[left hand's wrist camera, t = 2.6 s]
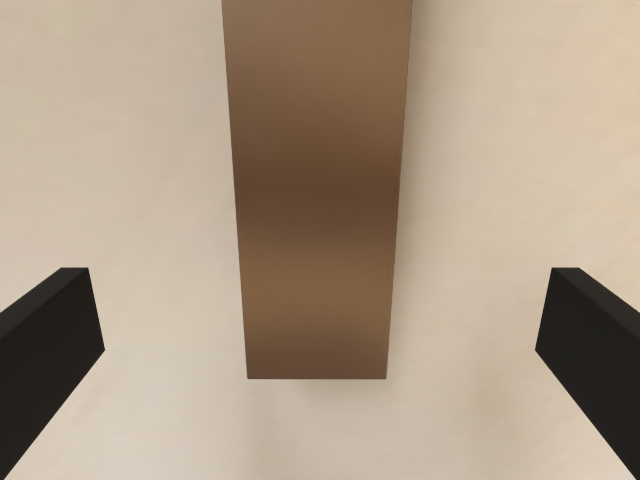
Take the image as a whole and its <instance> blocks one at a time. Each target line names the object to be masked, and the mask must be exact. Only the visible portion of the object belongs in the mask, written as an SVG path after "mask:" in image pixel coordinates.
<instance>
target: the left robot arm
mask: <svg viewBox="0 0 640 480" xmlns="http://www.w3.org/2000/svg"><path fill="white" fill-rule="evenodd" d="M104 351H105V347H104V343H103V338H102V333H101V328H100V323H99V318H98V313H97V308H96V303H95V299H94V294H93V289H92V284H91V279H90V274H89V269H88V268H60V269H59V270H57V271H56V272H55V273H53V274H52V275H51V276H49V277H48V278H46V279H45V280H44V281H42V282H41V283H40V284H38V285H37V286H36V287H34V288H33V289H32V290H30V291H29V292H28V293H26V294H25V295H24V296H22V297H21V298H20V299H18V300H17V301H16V302H14V303H13V304H11V305H10V306H9V307H7V308H6V309H5V310H3V311H2V312H1V313H0V480H4V479H5V477H6V476H7V475H8V474H9V472H10V471H11V470H12V468H13V467H14V466H15V465H16V463H17V462H18V461H19V460H20V458H21V457H22V456H23V454H24V453H25V452H26V451H27V449H28V448H29V447H30V445H31V444H32V443H33V442H34V440H35V439H36V438H37V437H38V435H39V434H40V433H41V431H42V430H43V429H44V428H45V426H46V425H47V424H48V422H49V421H50V420H51V419H52V417H53V416H54V415H55V413H56V412H57V411H58V410H59V408H60V407H61V406H62V405H63V403H64V402H65V401H66V399H67V398H68V397H69V396H70V394H71V393H72V392H73V390H74V389H75V388H76V387H77V385H78V384H79V383H80V382H81V380H82V379H83V378H84V376H85V375H86V374H87V373H88V371H89V370H90V369H91V367H92V366H93V365H94V364H95V362H96V361H97V360H98V359H99V357H100V356H101V355H102V353H103V352H104ZM535 351H536V352H537V353H538V355H539V356H540V357H541V359H542V360H543V361H544V362H545V364H546V365H547V366H548V367H549V369H550V370H551V371H552V373H553V374H554V375H555V376H556V378H557V379H558V380H559V382H560V383H561V384H562V385H563V387H564V388H565V389H566V390H567V392H568V393H569V394H570V396H571V397H572V398H573V399H574V401H575V402H576V403H577V405H578V406H579V407H580V408H581V410H582V411H583V412H584V413H585V415H586V416H587V417H588V419H589V420H590V421H591V422H592V424H593V425H594V426H595V428H596V429H597V430H598V431H599V433H600V434H601V435H602V437H603V438H604V439H605V440H606V442H607V443H608V444H609V445H610V447H611V448H612V449H613V451H614V452H615V453H616V454H617V456H618V457H619V458H620V460H621V461H622V462H623V463H624V465H625V466H626V467H627V468H628V470H629V471H630V472H631V474H632V475H633V476H634V477H635V479H636V480H640V313H639V312H638V311H637V310H635V309H634V308H633V307H631V306H630V305H629V304H627V303H626V302H624V301H623V300H622V299H620V298H619V297H618V296H616V295H615V294H614V293H612V292H611V291H610V290H608V289H607V288H606V287H604V286H603V285H602V284H600V283H599V282H598V281H596V280H595V279H594V278H592V277H591V276H589V275H588V274H587V273H585V272H584V271H583V270H581V269H580V268H552V269H551V274H550V279H549V284H548V289H547V294H546V299H545V303H544V308H543V313H542V318H541V323H540V328H539V333H538V338H537V343H536V347H535Z"/></svg>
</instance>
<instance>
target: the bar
mask: <svg viewBox="0 0 640 480" xmlns="http://www.w3.org/2000/svg"><path fill="white" fill-rule="evenodd" d="M222 14H223V28H224V43H225V58H226V73H227V87H228V102H229V117H230V131H231V146H232V161H233V176H234V190H235V205H236V220H237V234H238V249H239V264H240V279H241V293H242V308H243V323H244V337H245V352H246V367H247V378H248V379H386V377H387V362H388V348H389V333H390V319H391V304H392V290H393V275H394V261H395V246H396V232H397V217H398V203H399V188H400V174H401V159H402V145H403V130H404V116H405V101H406V87H407V72H408V58H409V43H410V29H411V14H412V0H222Z"/></svg>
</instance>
